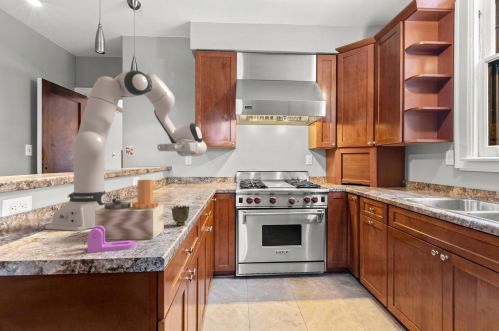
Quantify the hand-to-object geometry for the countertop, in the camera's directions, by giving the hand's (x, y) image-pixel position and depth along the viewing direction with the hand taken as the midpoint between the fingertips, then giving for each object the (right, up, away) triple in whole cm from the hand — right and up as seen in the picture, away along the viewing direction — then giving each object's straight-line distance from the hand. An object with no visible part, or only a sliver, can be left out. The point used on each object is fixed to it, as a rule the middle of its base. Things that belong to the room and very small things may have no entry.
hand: (165, 146), depth 130 cm
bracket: (-3, -35, -44) cm, 57 cm away
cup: (+10, -35, -14) cm, 39 cm away
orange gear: (+1, -24, -28) cm, 37 cm away
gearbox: (-4, -35, -28) cm, 45 cm away
